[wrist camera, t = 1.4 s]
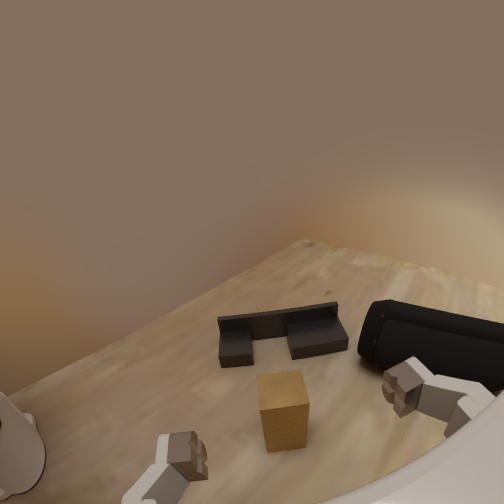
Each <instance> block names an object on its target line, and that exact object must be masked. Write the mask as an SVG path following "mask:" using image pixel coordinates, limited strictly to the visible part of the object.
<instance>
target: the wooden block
mask: <svg viewBox="0 0 504 504" xmlns="http://www.w3.org/2000/svg"><path fill="white" fill-rule="evenodd" d="M257 385H258V396H259V407H260V414H261V420H262V426H263V432H264V437H265V443H266V449H267V453H271V452H279V451H287V450H293V449H300V448H305V447H306V439H307V428H308V417H309V404H310V403H309V399H308V395H307V391H306V387H305V383H304V379H303V375H302V372H301V369H300V370H294V371H287V372H280V373H272V374H264V375H257Z"/></svg>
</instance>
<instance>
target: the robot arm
mask: <svg viewBox="0 0 504 504" xmlns="http://www.w3.org/2000/svg"><path fill="white" fill-rule="evenodd" d="M383 378H384V379H385V381H384V383H383V384H382V390H383V394H384V396H385V398H386V400H387V401H388V402H389V403H392V404H394V406H393V409H394V411H395V412H396V413H397V415H398V416H399V417H400V418H402V417H404V416H406V415H408V414H409V413H411V412H413V411H415V410H416V411H419V412H421V413H424V414H426V415H429V416H431V417H434V418H437V419H439V420H442V421H445V422H447V423H448V425H447V427H446V429H445V431H444V435H445V437H446V438H447V439H445V440H444V441H442V442H441V443H439V444H438V445H436V446H435V447H433V448H432V449H430V450H429V451H427V452H426V453H424V454H423V455H421V456H419V457H418V458H416V459H414V460H413V461H411V462H409V463H408V464H406V465H404V466H402V467H400V468H399V469H397V470H395V471H393V472H391V473H389V474H387V475H385V476H383V477H381V478H379V479H377V480H375V481H373V482H371V483H368V484H366V485H364V486H362V487H359V488H357V489H354V490H352V491H350V492H347V493H344V494H342V495H339V496H336V497H334V498H331V499H328V500H325V501H322V502H319V503H316V504H504V390H503V391H502V392H501V393H500V394H499V395H498V396H497V397H495V396H494V395H493V394H492V393H490V392H489V391H488V390H487V389H486V388H485V387H484V386H483V385H482V384H481V383H479V382H473V381H468V380H462V379H457V378H452V377H447V376H442V375H438V374H437V375H433V374H432V373H431V372H430V371H429V370H428V369H427V368H426V367H425V366H424V365H423V364H422V363H421V362H420V361H419V360H418V359H417V358H416V357H411V358H409V359H407V360H405V361H404V362H401V363H399V364H397V365H396V366H394V367H392V368H390V369H388V370H386V371H384V373H383ZM206 460H207V452H206V448H205V446H204V444H203V442H202V441H201V440H198V439H197V434H196V433H195V431H189V432H179V433H169V434H160V435H159V437H158V441H157V449H156V457H155V464H152V465H151V466H150V467H149V468H148V469H147V470H146V471H145V473H144V474H143V475H142V476H141V477H140V478H139V479H138V480H137V481H136V483H135V484H134V485H133V486H132V487H131V488H130V489H129V490H128V491H127V492H126V494H125V495H124V496H123V497H122V504H177V503H178V502H179V500H180V498H181V497H182V495H183V493H184V492H185V490H186V488H187V487H188V485H189V483H190V482H193V481H202V480H208V467H207V466H206V465H205V464H204V463H205V462H206ZM44 461H45V450H44V445H43V442H42V439H41V437H40V435H39V434H38V432H37V429H36V420H35V418H34V417H33V416H32V415H31V414H29V413H21V412H20V411H19V410H18V409H17V408H16V407H15V406H14V405H13V404H12V403H11V402H10V400H9V399H8V398H7V397H6V396H5V395H4V394H3V393H2V392H0V500H4V499H6V498H7V497H9V496H10V495H12V494H19V493H23V492H25V491H27V490H29V489H30V488H31V487H33V486H34V484H35V483H36V482H37V481H38V479H39V477H40V475H41V473H42V470H43V467H44Z"/></svg>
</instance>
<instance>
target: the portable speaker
mask: <svg viewBox="0 0 504 504" xmlns="http://www.w3.org/2000/svg"><path fill="white" fill-rule="evenodd" d="M358 354H359V355H360V356H362V357H363V358H364V359H366V360H367V361H368V362H370V363H371V364H374V365H377V366H380V367H384V368H387V369H390V368H392V367H394V366H396V365H397V364H399V363H401V362H404V361H405V360H407V359H409V358H411V357H416V358H417V359H418V360H419V361H420V362H421V363H422V364H423V365H424V366H425V367H426V368H427V369H428V370H429V371H430V372H431V373H432V374H433V375H437V374H438V375H442V376H447V377H452V378H457V379H462V380H468V381H473V382H479V383H481V384H482V385H483V386H484V387H485V388H486V389H487V390H488V391H489V392H496V391H499V390H503V389H504V324H503V323H498V322H493V321H488V320H483V319H478V318H473V317H469V316H464V315H459V314H454V313H449V312H445V311H440V310H435V309H431V308H426V307H421V306H417V305H412V304H408V303H403V302H399V301H394V300H390V299H389V300H382V301H375V302H373V303H372V304H371V306H370V308H369V310H368V312H367V315H366V318H365V320H364V324H363V327H362V330H361V334H360V338H359V342H358Z"/></svg>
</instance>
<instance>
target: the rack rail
mask: <svg viewBox="0 0 504 504" xmlns="http://www.w3.org/2000/svg"><path fill="white" fill-rule="evenodd" d="M337 316H338V303H337V301H336V302H330V303H323V304H317V305H311V306H304V307H297V308H290V309H283V310H275V311H267V312H259V313H251V314H242V315H233V316H223V317H218V325H219V329H220V342H219V361H220V364H221V368H226V367H238V366H248V365H253V352H252V340H260V339H268V338H275V337H283V336H287V340H288V344H289V349H290V353H291V357H292V360H295V359H301V358H307V357H313V356H319V355H324V354H329V353H334V352H339V351H344V350H347V348H348V340H349V338H348V336H347V334H346V332H345V330H344V328H343V326H342V324H341V322H340V320H339V318H338V317H337Z"/></svg>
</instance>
